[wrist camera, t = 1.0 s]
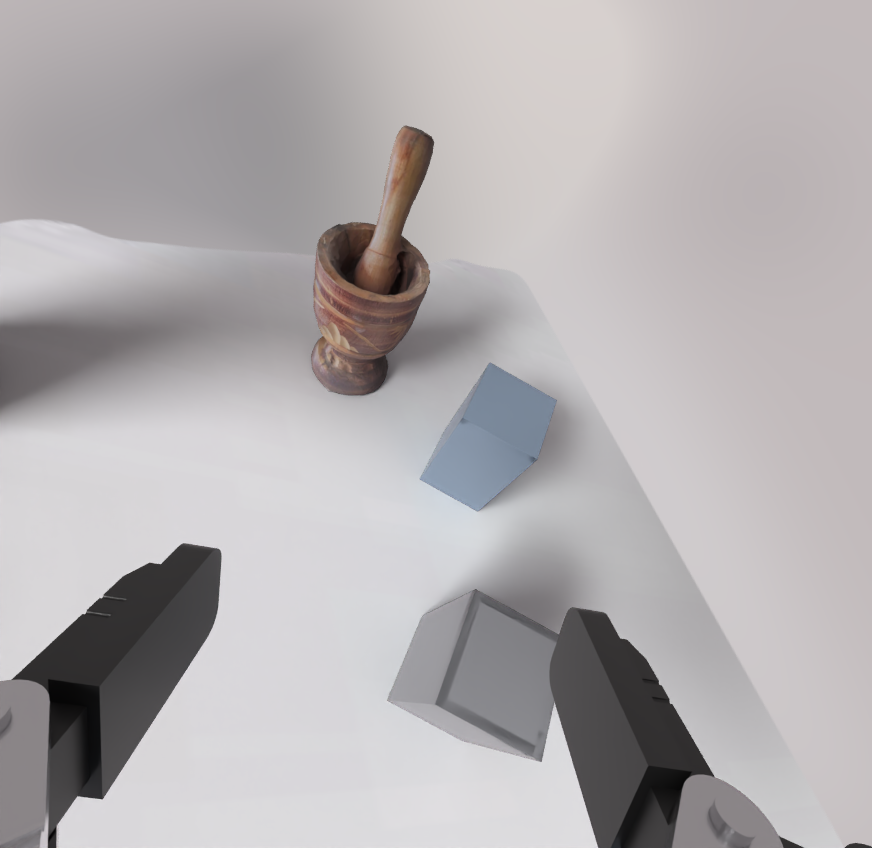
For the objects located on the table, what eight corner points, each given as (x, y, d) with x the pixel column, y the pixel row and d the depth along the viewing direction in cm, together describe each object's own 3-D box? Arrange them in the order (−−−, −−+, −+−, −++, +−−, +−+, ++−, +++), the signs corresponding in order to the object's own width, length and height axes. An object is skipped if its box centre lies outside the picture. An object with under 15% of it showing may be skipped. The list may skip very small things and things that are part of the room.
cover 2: (387, 700, 30) (434, 704, 22) (422, 615, 34) (475, 589, 25) (462, 741, 31) (541, 761, 22) (489, 652, 34) (567, 639, 25)
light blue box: (419, 479, 40) (462, 417, 31) (444, 430, 43) (489, 362, 34) (477, 511, 40) (537, 459, 31) (497, 460, 43) (556, 400, 34)
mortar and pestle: (305, 304, 46) (324, 90, 29) (387, 313, 49) (445, 123, 32) (305, 398, 40) (327, 200, 24) (397, 403, 43) (473, 228, 27)
